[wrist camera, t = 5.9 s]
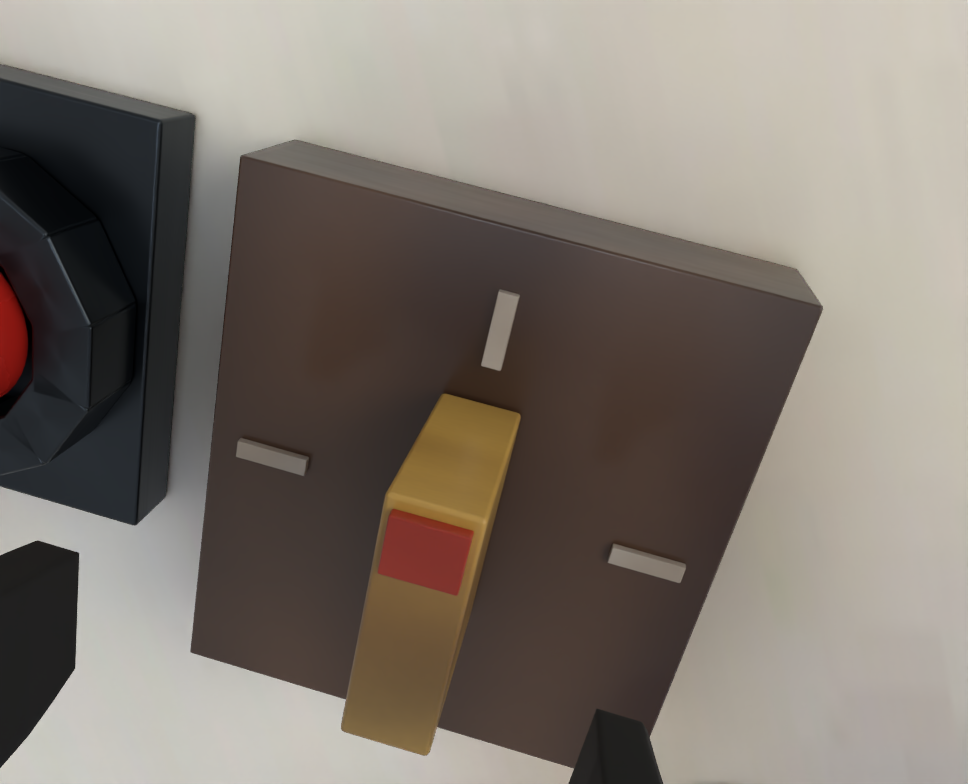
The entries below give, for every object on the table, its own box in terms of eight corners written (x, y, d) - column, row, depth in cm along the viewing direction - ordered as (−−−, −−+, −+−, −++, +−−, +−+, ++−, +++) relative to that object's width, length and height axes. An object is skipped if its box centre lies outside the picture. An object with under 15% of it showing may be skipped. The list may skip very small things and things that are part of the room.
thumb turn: (470, 614, 17) (423, 771, 14) (398, 593, 17) (333, 743, 14) (521, 412, 15) (485, 530, 12) (441, 390, 15) (379, 501, 12)
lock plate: (799, 268, 16) (826, 309, 14) (631, 703, 21) (630, 792, 18) (293, 138, 17) (235, 156, 14) (237, 587, 21) (185, 658, 19)
